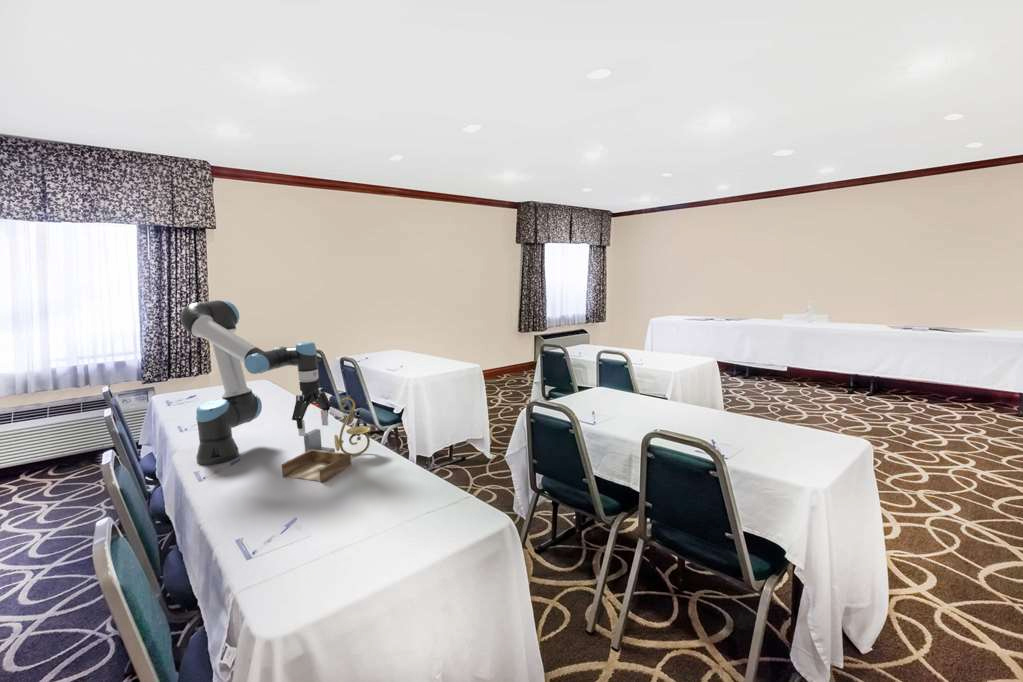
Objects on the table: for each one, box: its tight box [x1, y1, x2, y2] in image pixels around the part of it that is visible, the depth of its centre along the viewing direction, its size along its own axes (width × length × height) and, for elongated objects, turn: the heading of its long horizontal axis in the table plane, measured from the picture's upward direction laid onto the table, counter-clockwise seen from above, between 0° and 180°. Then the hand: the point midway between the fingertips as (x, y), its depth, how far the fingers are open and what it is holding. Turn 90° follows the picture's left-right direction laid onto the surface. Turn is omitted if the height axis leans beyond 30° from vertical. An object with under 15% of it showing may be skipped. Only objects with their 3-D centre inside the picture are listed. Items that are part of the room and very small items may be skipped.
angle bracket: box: [303, 428, 336, 453], centre depth 206 cm, size 9×7×10 cm
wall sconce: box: [333, 397, 371, 457], centre depth 204 cm, size 14×10×25 cm
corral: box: [281, 449, 352, 484], centre depth 191 cm, size 18×16×5 cm
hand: (314, 430), depth 206 cm, fingers open, 13 cm apart
